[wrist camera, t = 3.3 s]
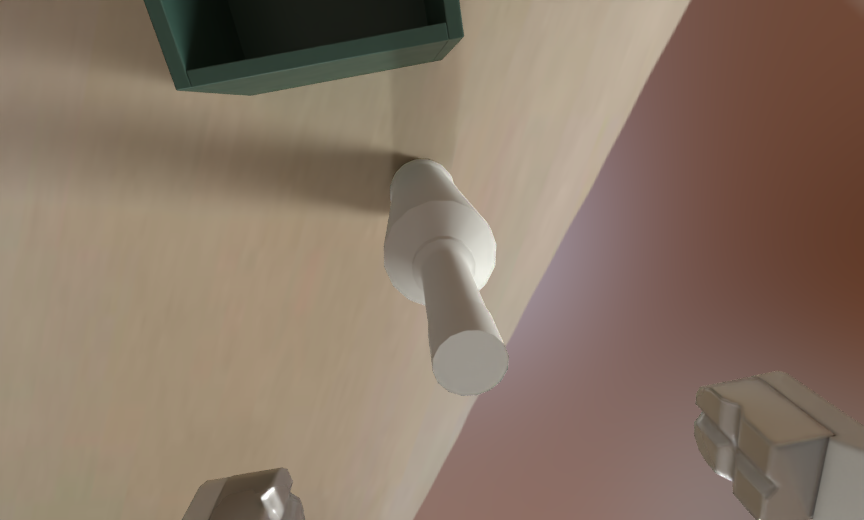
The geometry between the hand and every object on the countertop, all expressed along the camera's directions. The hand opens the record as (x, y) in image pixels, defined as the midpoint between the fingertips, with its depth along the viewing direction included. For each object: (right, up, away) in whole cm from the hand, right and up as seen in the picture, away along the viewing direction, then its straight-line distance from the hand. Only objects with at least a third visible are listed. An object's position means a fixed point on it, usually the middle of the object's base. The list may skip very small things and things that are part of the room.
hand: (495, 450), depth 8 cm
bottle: (-2, +10, +26) cm, 28 cm away
